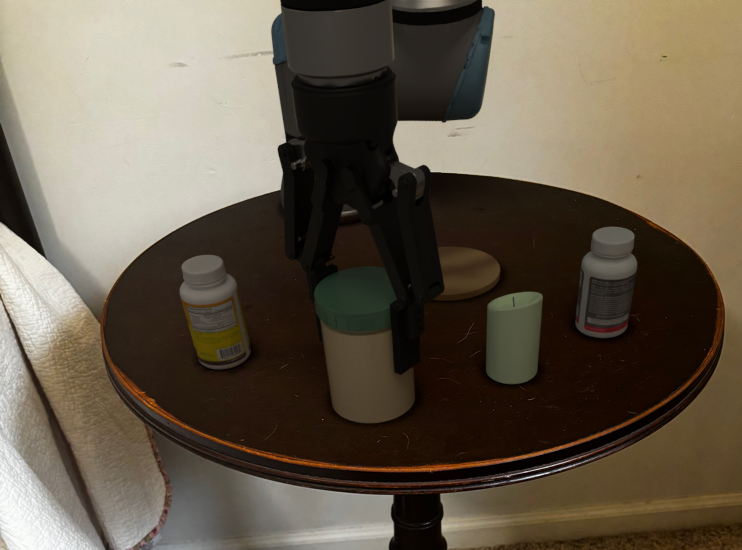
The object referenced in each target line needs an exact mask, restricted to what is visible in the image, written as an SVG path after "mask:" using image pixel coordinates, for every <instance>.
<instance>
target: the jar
mask: <svg viewBox="0 0 742 550" xmlns="http://www.w3.org/2000/svg"><path fill="white" fill-rule="evenodd" d="M320 324H321V331H322V338H323V343H322V344H323V352H324V358H325V366H326V372H327V380H328V386H329V387H328V388H329V394H330V401H331V406H332V408H333V410H334V412H336V413H337V415H339V417H342V418H344V419H346V420H348V421H349V422H350V421H351V422H355V423H359V424H381V423H385V422H389V421H392V420H394V419H397V418H399V417H401V416H402V415H404V414H406V413H407V412H408V411H409V410H410V409H411V408H412V407H413V405H414V403H415V401H416V384H415V383H416V381H415V366H413V367H412V368H410V369H409V370H408V371H406V372H405V373H403V374H402V375H400V374H397V373H395V372H394V358H393V343H392V329H391V326H390V327H387V328H383V329H379V330H375V331H366V332H352V331H344V330H339V329H335V328H333V327H330V326H328V325H326V324H325V323H323V322H322V321H321V320H320Z"/></svg>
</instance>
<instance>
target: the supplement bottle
mask: <svg viewBox="0 0 742 550" xmlns="http://www.w3.org/2000/svg"><path fill="white" fill-rule="evenodd" d="M181 272H182V279H183V282H182V283H181V285H180V286H179V297H180V300H181V303H182V308H183V310H184V315H185V318H186V321H187V325H188V329H189V332H190V336H191V340H192V343H193V347H194V350H195V353H196V357H197V360H198V362H199V363H200V364H201V365H202V366H203V367H205V368H208V369H212V370H227V369H232V368H235V367H237V366H240V365H241V364H243V363H244V362H246V361H247V360H248V359H249V357H250V355H251V353H252V352H251V350H252V348H251V343H250V338H249V334H248V330H247V325H246V320H245V319H246V318H245V314H244V309H243V306H242V301H241V296H240V292H239V287H238V283H237V280H236V278H234V277H233V275H231V274H229V273H227V269H226V267H225V263H224V260H223V258H222V257H221V256H218V255H215V254H201V255H195V256H192V257H191V258H188V259H186V260H185V261H184V262H183V263H182V264H181Z"/></svg>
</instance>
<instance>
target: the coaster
mask: <svg viewBox="0 0 742 550" xmlns="http://www.w3.org/2000/svg"><path fill="white" fill-rule="evenodd" d="M438 252H439V258H440V264H441V269H442V275H443V281H444V287H445V290H444V292H443V293H442V294H440V295H439V296H437V297H436V298H434V299H433V300H432V301H437V302H438V301H440V302H452V301H462V300H467V299H472V298H475V297H478V296H482V295H483V294H485V293H487V292H489V291H490V290H491V289H493V288H494V287H496V285H497V284H498V283H499V281H500V277H501V266H500V263H499V261H498V260H497V259H496V258H495V257H493V256H492V255H491V254H489V253H487V252H485V251H483V250H479V249H475V248H471V247H466V246H465V247H464V246H438Z"/></svg>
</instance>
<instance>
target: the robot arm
mask: <svg viewBox="0 0 742 550" xmlns="http://www.w3.org/2000/svg"><path fill="white" fill-rule="evenodd" d="M279 3H280V13H279V14H278V15H277V16H276V17H275V18H274V20H273V21H272V23H271V28H270V36H271V44H272V55H273V57H272V64H273V66H274V71H275V78H276V84H277V90H278V97H279V104H280V111H281V118H282V123H283V130H284V137H285V142H284V143H281V144H279V145H278V146H277V155H278V158H279V162H280V163H279V164H280V167H281V169H282V176H281V183H280V190H279V191H280V192H279V193H280V195H279V196H280V203H281V209H282V212H283V222H284V223H283V224H284V225H283V227H284V228H283V229H284V253H285V256H286V258H287V259H288V260H289V261H295V260H296V261H297V262H298V263H300V266H301V269H302V271H304V272H305V275H306V282H307V289H308V295H309V299H310V302H311V304H313V306H314V308H315V303H314V302H315V298H314V291H315V288H316V286H317V285H318V283H319V282H320V281H322V280H323V279H324V278H326V277H327V276H329V275H331V274H333V273H336V272H338V271H339V268H338V265H336V264H333V263H330V264H328V265H327V263H328V262H330V261H332V260H334V259H335V258H336V256H335V255H334V254H333V253H332V251H333V247H334V245H335V240H336V235H337V233H338V229H339V225H340V224H347V223H353V222H357V221H361V223H362V224H364V226H367V227H368V228H369V231H370V234H371V236H372V239H373V242H374V244H375V246H376V250H377V252H378V253H379V257H380V259H381V262H382V264H383V267H384V268H385V270H386V272H387V275H388V277H389V280H390V282H391V285H392V287H393V290H394V292H395V295H396V297H397V300H395V301H394V302H392V303H391V304H390V314H391V329H392V343H393V358H394V372H395V373H397V374H400V375H402V374H403V373H405V372H406V371H408V370H409V369H410V368H412V367H413V366H414V367H415V366H416V365H417V364H419V363H420V362H421V342H420V337H421V336H422V335H424V332H425V330H426V324H425V320H426V319H425V306H426V305H427V304H429V303H430V302H431V301H434V300H433V299H434V298H436V297H437V296H439V295H440V294H442V293H443V292H444V290H445V287H444V281H443V275H442V269H441V264H440V258H439V252H438V247H439V245H438V241H437V236H436V230H435V229H436V228H435V224H434V218H433V212H432V206H431V200H430V195H431V194H430V193H431V183H432V172H431V169H430V167H429V166H427V165H426V164H421V165H419V166H416V167H412V166H410V165H407V164H406V163H403V162H401V161H400V158H399V154H398V153H397V150H396V146H395V144H394V137H395V132H396V128H397V125H398V122H441V123H443V124H444V123H447V122H450V121H452V122H453V121H466V120H467V121H468V120H472V119H474V118H476V116H477V115H478V114H479V113H480V111H481V109H482V106H483V103H484V102H483V101H484V98H485V92H486V84H487V80H488V79H487V78H488V73H489V72H488V71H489V64H490V58H491V50H492V43H493V35H494V28H495V17H496V12H495V9H493V8H492V7H489V6H488V5H485V6H483V0H279ZM409 284H410V285H411V286H410V287H408V286H409ZM314 312H315V313H314V314H315V320H316V328H317V334H318V342H319V343H322V344H323V338H322V331H321V324H320V320H319V317H318V315H317V314H316V310H315V309H314Z"/></svg>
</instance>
